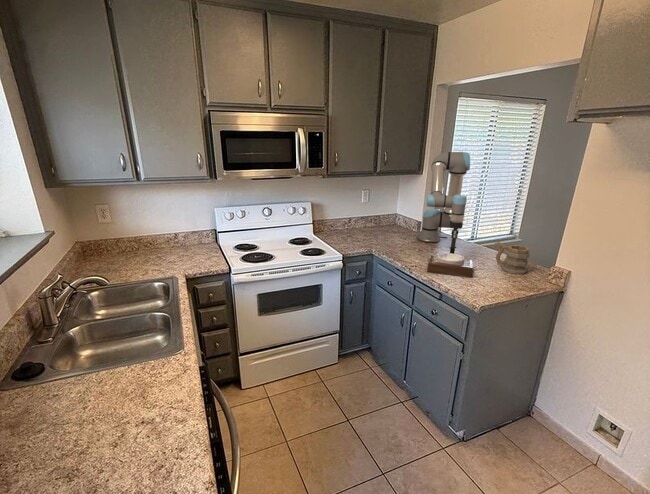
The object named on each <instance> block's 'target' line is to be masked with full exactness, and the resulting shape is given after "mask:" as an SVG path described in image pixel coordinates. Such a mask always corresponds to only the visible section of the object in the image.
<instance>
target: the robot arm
mask: <svg viewBox="0 0 650 494" xmlns="http://www.w3.org/2000/svg"><path fill="white" fill-rule="evenodd" d="M470 168H471V155H470V152H467V151H466V152H465V151H443V152H442V153H439V154H438V155H437V156H436V157H434V159H433V161H432V162H431V165H430V170H431V172H432V173H431V183H430V185H431V186H430V194H427V195H426V207H429V209H425V210H424V211H423V215H422V224H421V231H420V232H419V235H418V238H417V239H418V241H420V242H422V243H428V244H431V243H432V244H433V243H438V242H439V241H440V239H448V237H447V236H439V235H440V234H439V228H442V229H443V228H445V229H451V232H450V233H451V235H450V236H451V237H450V238H451V242H450V247H449V248H448V249H449V253H451V254H455V253H456V252H455V250H456V249H457V246H456V243H457V239H458V235H459V232H460V231H459V230H460V229H463V225H464V220H465V212H466V204H467V202H468V201H467V198H468V197H467V195H465V194H462V189H463V182H464V178H465V175H467V172H468V171H470ZM446 171H448V173H449V174H450V177H449V184H448V190H447V195H445V194H444V185H445V184H444V182H445V181H444V180H445V172H446ZM440 208H443V211H441V209H440Z"/></svg>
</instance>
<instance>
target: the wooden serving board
mask: <svg viewBox="0 0 650 494" xmlns="http://www.w3.org/2000/svg"><path fill="white" fill-rule="evenodd" d="M434 256H435V255H430V258H429V261H428V263H427V273H431V274H432V273H433V274H437V275H439V274H440V275H447V276H454V277H455V276H456V277H462V278H470V279H472V275H473V269H474V266H473V259H469V261H468V265H465V264H464V265H456V264H447V263H439V262H437V261H434V258H435V257H434Z"/></svg>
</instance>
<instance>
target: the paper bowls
mask: <svg viewBox="0 0 650 494" xmlns="http://www.w3.org/2000/svg"><path fill="white" fill-rule="evenodd" d="M436 262H439V263H447V264H456V265H464V266H465V257H464V255H461V254H457V253H454V254H451V253H450V252H448V253H447V252H445V253H444V252H443V253H440V254H438V255H437V259H436Z"/></svg>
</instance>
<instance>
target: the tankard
mask: <svg viewBox="0 0 650 494" xmlns="http://www.w3.org/2000/svg"><path fill="white" fill-rule="evenodd" d="M494 246H495V247H497V246H498V247H499V249H498V250H499V251H498V252H497V253H496V255H495V260H496V263H497V264H498V265H502V266H501V269H502V270H503V271H504V272H506V273H509V274H514V275H525V274H526V273H528V270H529V269H528V268H527V266H528V264H529V261H528V258H529V257H530V254H531V253H530V248H528V247H527V246H524V245H517V244H513V245H509V246H507V245H504V244H503V243H501V242H500V241H497V242H495V243H494ZM504 250H506V251H505V255H506V256H505V258H504V260H502V259H501V256H502V255H503V253H504Z"/></svg>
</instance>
